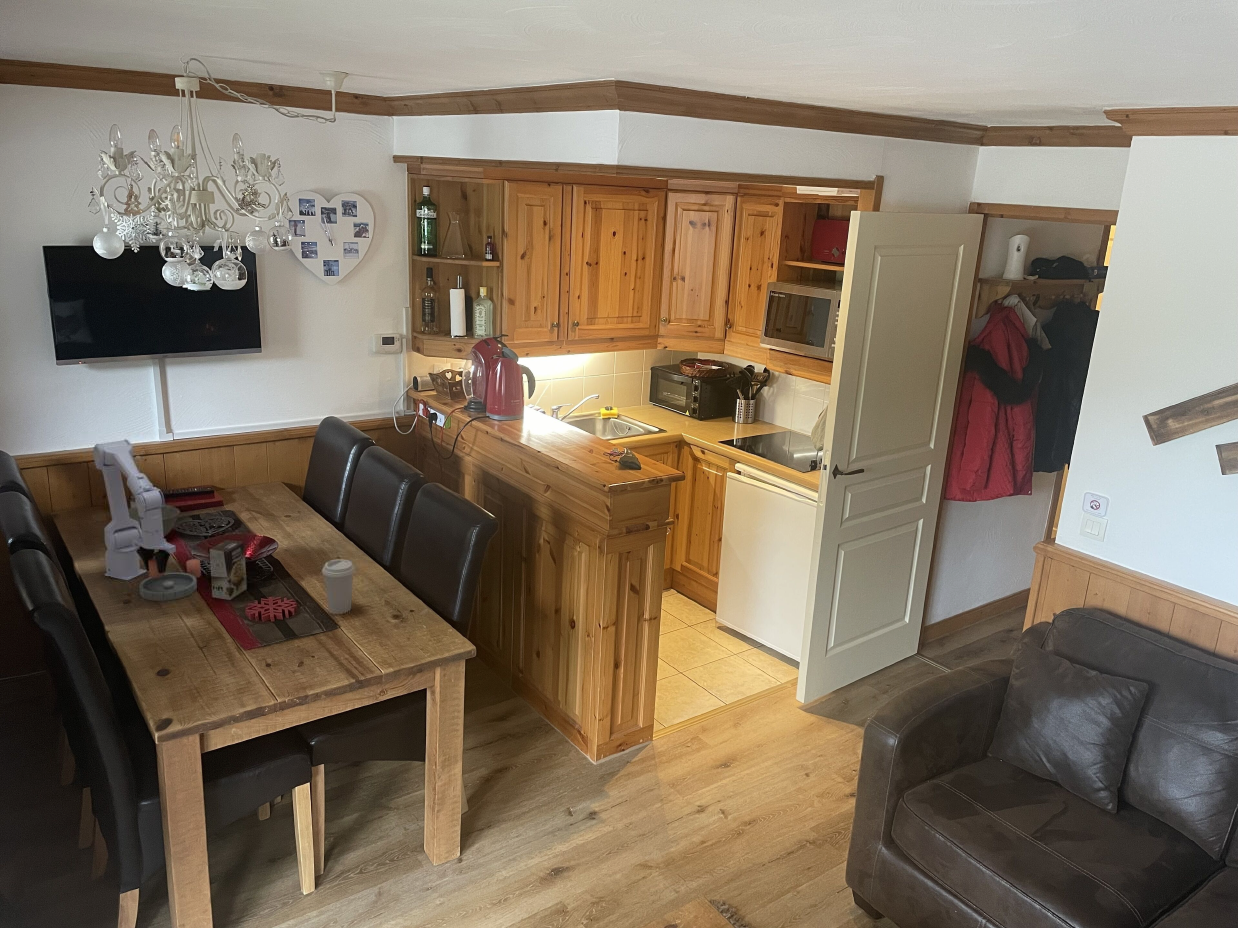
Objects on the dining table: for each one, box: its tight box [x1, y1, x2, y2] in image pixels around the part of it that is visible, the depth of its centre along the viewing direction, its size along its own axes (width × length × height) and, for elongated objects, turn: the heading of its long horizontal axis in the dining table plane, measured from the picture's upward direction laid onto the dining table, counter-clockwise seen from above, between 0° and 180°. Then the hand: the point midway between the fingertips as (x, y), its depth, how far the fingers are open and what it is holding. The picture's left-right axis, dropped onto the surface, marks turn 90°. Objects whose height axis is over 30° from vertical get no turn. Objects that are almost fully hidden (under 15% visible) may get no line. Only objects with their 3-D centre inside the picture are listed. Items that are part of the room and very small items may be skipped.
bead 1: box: [148, 557, 165, 578], centre depth 279 cm, size 4×4×5 cm
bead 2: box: [186, 558, 202, 579], centre depth 296 cm, size 4×4×5 cm
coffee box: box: [209, 539, 248, 601], centre depth 284 cm, size 9×6×16 cm
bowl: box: [126, 504, 181, 537], centre depth 323 cm, size 19×19×10 cm
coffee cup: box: [321, 558, 356, 615], centre depth 278 cm, size 10×10×15 cm
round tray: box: [138, 572, 198, 602], centre depth 285 cm, size 16×16×2 cm
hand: (156, 570), depth 280 cm, fingers closed on bead 1, 4 cm apart
